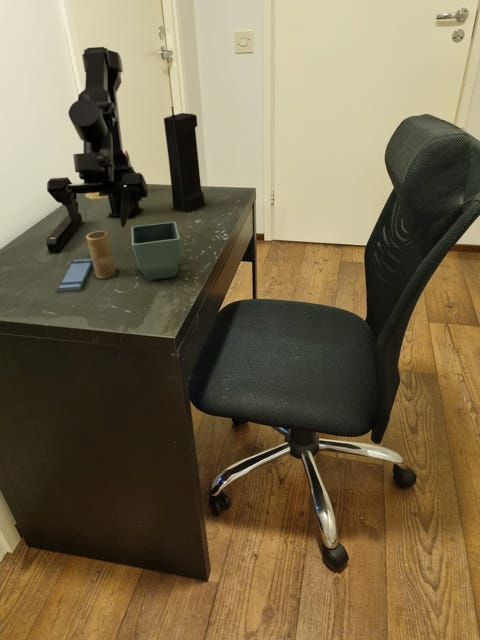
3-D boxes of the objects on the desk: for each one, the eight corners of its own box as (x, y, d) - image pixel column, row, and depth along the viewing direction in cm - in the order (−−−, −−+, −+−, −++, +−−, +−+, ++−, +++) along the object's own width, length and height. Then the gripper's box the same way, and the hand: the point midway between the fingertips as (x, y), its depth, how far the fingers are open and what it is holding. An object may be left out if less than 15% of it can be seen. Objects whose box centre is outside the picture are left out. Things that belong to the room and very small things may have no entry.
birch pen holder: (93, 279, 94) (83, 239, 89) (98, 269, 97) (89, 231, 92) (113, 278, 93) (104, 238, 89) (117, 268, 97) (109, 230, 92)
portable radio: (190, 199, 129) (180, 101, 115) (207, 203, 126) (198, 102, 112) (171, 208, 124) (157, 106, 110) (188, 212, 121) (176, 108, 107)
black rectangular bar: (73, 222, 120) (70, 211, 118) (83, 222, 120) (80, 210, 118) (48, 253, 105) (44, 241, 103) (59, 252, 105) (55, 240, 103)
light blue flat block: (59, 291, 90) (58, 287, 90) (74, 263, 100) (73, 259, 100) (80, 290, 90) (79, 286, 90) (93, 261, 100) (92, 258, 100)
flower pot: (185, 280, 91) (180, 238, 86) (140, 287, 90) (131, 244, 85) (181, 261, 98) (175, 220, 93) (138, 267, 97) (130, 226, 92)
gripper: (35, 136, 88) (34, 214, 85) (135, 129, 88) (137, 207, 85) (58, 166, 98) (57, 236, 96) (146, 160, 99) (149, 230, 96)
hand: (99, 227), depth 93 cm, fingers open, 9 cm apart
